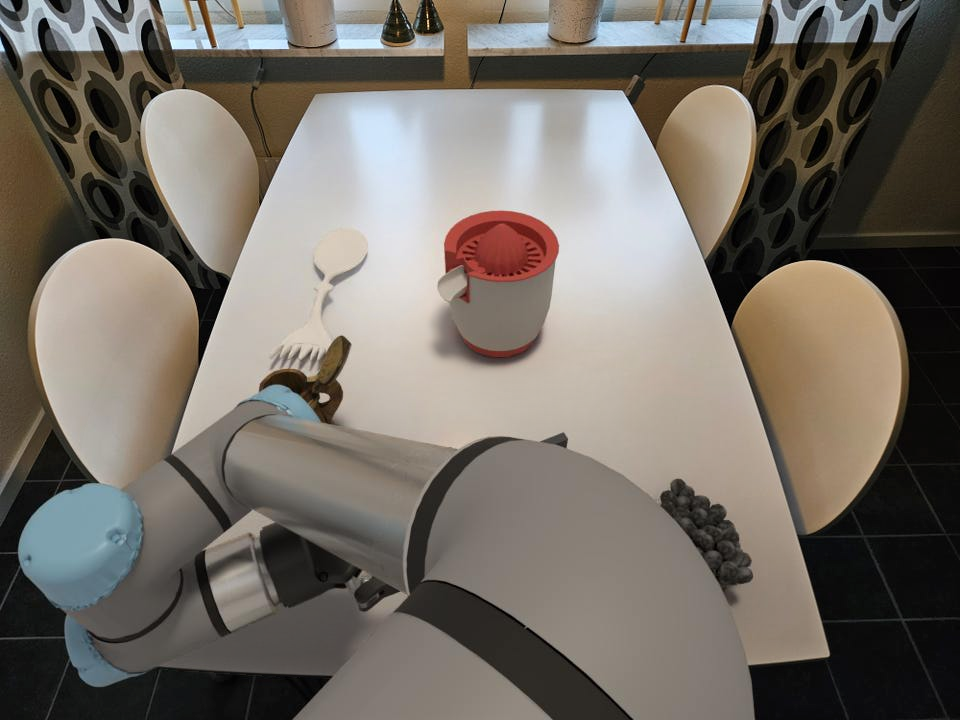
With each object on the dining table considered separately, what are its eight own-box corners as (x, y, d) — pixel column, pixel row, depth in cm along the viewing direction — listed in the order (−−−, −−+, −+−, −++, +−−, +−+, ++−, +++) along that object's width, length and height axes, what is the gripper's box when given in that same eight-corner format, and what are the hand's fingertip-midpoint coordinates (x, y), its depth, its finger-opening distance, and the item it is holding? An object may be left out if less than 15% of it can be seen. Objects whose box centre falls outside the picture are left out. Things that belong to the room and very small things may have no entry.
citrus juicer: (419, 325, 101) (410, 217, 86) (511, 286, 107) (517, 179, 93) (472, 389, 92) (472, 282, 77) (569, 343, 98) (585, 235, 84)
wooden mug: (370, 462, 84) (350, 370, 70) (263, 472, 82) (223, 380, 69) (370, 409, 90) (352, 314, 76) (271, 417, 88) (235, 323, 75)
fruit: (669, 449, 74) (711, 573, 64) (730, 458, 76) (780, 580, 66) (633, 490, 80) (666, 609, 69) (691, 497, 82) (731, 614, 72)
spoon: (271, 370, 94) (265, 354, 92) (324, 237, 116) (320, 221, 113) (331, 374, 94) (327, 358, 91) (373, 240, 115) (371, 224, 113)
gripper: (257, 505, 66) (463, 427, 73) (306, 687, 54) (546, 573, 61) (236, 464, 60) (461, 384, 67) (286, 656, 49) (553, 536, 55)
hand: (501, 474), depth 64 cm, fingers closed on lever, 6 cm apart
